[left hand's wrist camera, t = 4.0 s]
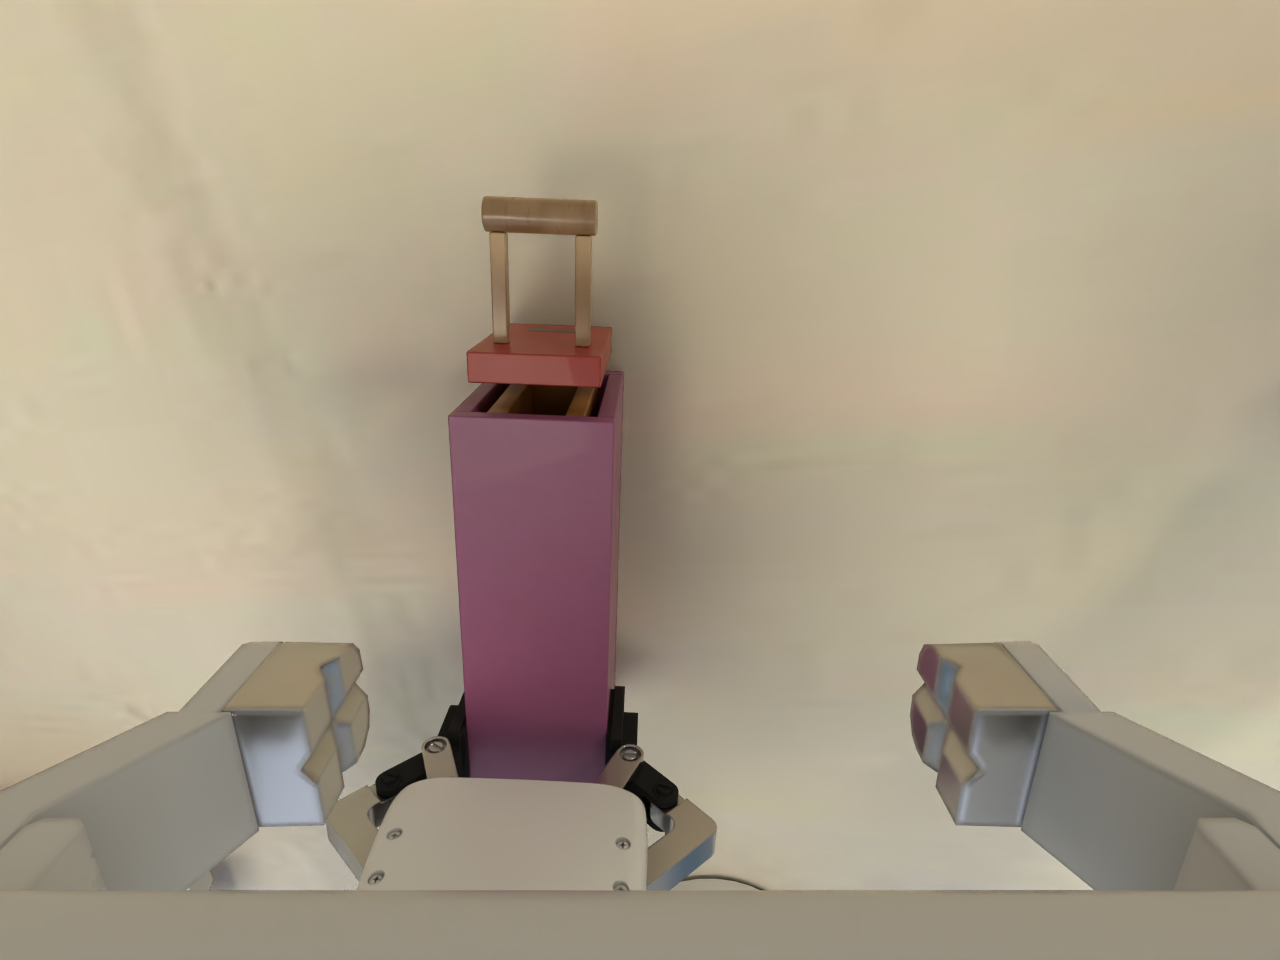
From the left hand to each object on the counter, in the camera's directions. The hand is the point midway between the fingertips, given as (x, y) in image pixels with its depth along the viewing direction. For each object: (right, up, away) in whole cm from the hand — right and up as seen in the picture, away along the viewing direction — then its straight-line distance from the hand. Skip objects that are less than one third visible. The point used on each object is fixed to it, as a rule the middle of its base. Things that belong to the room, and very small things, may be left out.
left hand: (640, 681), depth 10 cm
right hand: (-5, -9, +25) cm, 27 cm away
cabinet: (-4, -1, +29) cm, 29 cm away
